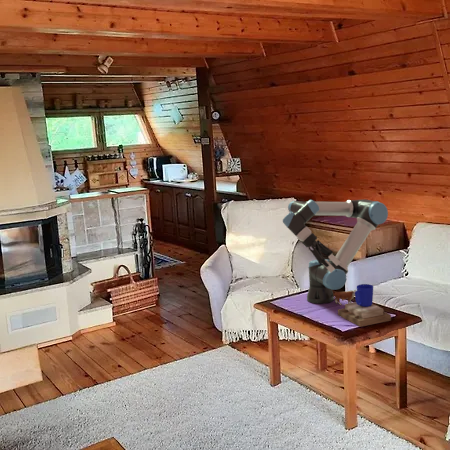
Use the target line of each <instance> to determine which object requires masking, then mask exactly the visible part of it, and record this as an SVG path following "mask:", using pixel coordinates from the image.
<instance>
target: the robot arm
mask: <svg viewBox="0 0 450 450" xmlns="http://www.w3.org/2000/svg"><path fill="white" fill-rule="evenodd" d="M287 209H288V212H289V213H287V214H286V215H285V216H284V218H283V219H282V224H284V226H286V228H287V229H288V230H289V231H290V232H291V233H292V234H293V235H294V236H295V237H296V239H297V240H299V241H300V242H302V244H303V246H305V248H308V247H309V248H308V251H310V252H311V253H312V254H313V256H314V257H315V259H313V260H310V261H309V262H308V278H309V280H308V281H309V283H308V284H309V288H308V291H307V294H306V301H307V302H309V303H312V304H318V305H319V304H320V305H321V304H328V303H332V302H334V301H335V298H334V297H335V296H333V294H334V292H333V291H335V290H336V291H337V290H340V289H341V288H343V287H344V286H345V284H346V283H347V280H348V279H347V274H348V272H349V269H348V268H349V265H350V264H351V263H352V261H353V259H354V258H355V256H356V255H357V254H358V251H359V250H360V249H361V247H362V245H363V244H364V243H365V241H366V239H367V238H368V237H369V235H370V233H371V232H372V231H374V230H376V229H377V227H378V226H379V225H382V224H384V223H385V222H386V221H387V220H388V217H389V216H388V215H389V212H388V208H387V206H386V205H385V204H384V203H383V202H380V201H378V200H370V199H351V200H350V199H347V200H346V201H315V200H313V199H309V200H308V201H298V200H292V201H290V202H289V204H288V205H287ZM314 216H345V217H347V218H354V219H356V224H355V225H354V227H353V228H352V230H350V232H349V235H348V236H347V237H346V239H345V241H344V242H343V244H342V245H341V247H340V249H339V250H338V251H337V253H336V255H334V254H333V253H334V251H332V250H331V249H330V248H329V247H327V246H326V245H325V244H323V243H322V242H321V241H320V240H317V239H318V237H317V236H316V234H315V233H313V232H312V230H311V229H310V228H309V227H308V226H307V225H306V224H307V222H308V221H310V220H311V218H313V217H314ZM323 254H324V255H326V256H327V257H328V259H326V258H325V257H324V255H323Z"/></svg>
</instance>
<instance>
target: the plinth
mask: <svg viewBox="0 0 450 450" xmlns="http://www.w3.org/2000/svg"><path fill="white" fill-rule="evenodd" d="M337 312H338V313H337V316H339V317H341V318H343V319H345V320H347V321H349V322H350V323H352V324H354V325H356V326H358V327H360V328H362V327H366V326H371V325H375V324H380V323H385V322H389V321H392V317H391V315H392V314H391V313H388V312H387V311H385V310H384V308H382V307H380V306H379V305H376V304H374V303H372V305H371V306H368V307H363V306H360V305H357V303H356V301H354V302H353V301H352V303H350V302H349V303H348V302H347V303H345V304H344V308H339V309H337Z"/></svg>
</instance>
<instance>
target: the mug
mask: <svg viewBox="0 0 450 450" xmlns="http://www.w3.org/2000/svg"><path fill="white" fill-rule="evenodd" d="M354 298H355V299H354V300H355V302H356V303H357V305H360V306H363V307H368V306H371V305H372V304H373V300H374V286H373V284H368V283H367V284H366V283H362V284H358V285H357V286H356V291H355V296H354Z"/></svg>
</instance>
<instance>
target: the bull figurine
mask: <svg viewBox="0 0 450 450" xmlns="http://www.w3.org/2000/svg"><path fill="white" fill-rule="evenodd" d="M355 291H357V289H353V290H351V289H350V290H346V291H334V292H333V296H334V302H335V304H336V305H337V304H339V305H340V306H342V305H343V304H342V302H341V301H344V300H347V304H348V303H353V301H352V300H353V299H354V298H355ZM340 300H341V301H340Z"/></svg>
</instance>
